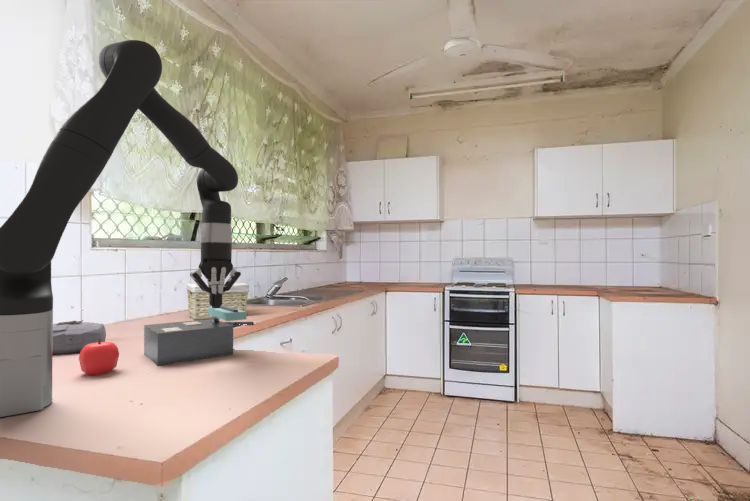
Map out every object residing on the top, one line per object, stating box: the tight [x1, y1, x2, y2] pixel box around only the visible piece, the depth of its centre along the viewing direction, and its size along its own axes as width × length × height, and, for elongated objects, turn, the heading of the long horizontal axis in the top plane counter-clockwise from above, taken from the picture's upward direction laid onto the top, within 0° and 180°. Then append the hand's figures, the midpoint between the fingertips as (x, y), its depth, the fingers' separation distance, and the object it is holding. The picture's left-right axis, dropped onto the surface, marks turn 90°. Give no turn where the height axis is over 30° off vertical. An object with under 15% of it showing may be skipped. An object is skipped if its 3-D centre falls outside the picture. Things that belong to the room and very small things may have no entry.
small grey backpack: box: [52, 319, 107, 355], centre depth 125 cm, size 15×8×20 cm
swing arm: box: [208, 305, 247, 322], centre depth 119 cm, size 18×5×3 cm, turn 38°
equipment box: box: [143, 316, 234, 367], centre depth 119 cm, size 16×19×10 cm
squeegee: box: [223, 321, 254, 328], centre depth 162 cm, size 14×15×3 cm
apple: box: [78, 338, 120, 376], centre depth 101 cm, size 8×8×8 cm
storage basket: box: [186, 282, 250, 320], centre depth 190 cm, size 24×16×15 cm
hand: (215, 307), depth 112 cm, fingers closed
